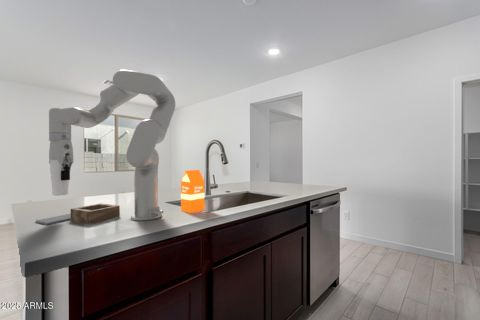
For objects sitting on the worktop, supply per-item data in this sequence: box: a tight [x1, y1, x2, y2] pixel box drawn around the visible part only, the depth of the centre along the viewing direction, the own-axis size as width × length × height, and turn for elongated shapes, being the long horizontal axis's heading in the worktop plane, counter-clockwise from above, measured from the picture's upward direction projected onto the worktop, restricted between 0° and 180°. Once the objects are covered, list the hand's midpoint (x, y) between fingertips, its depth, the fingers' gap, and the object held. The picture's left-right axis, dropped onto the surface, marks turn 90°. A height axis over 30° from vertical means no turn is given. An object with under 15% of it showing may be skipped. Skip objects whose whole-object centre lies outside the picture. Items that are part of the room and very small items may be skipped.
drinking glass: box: [49, 160, 70, 197], centre depth 99 cm, size 7×7×15 cm
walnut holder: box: [70, 203, 121, 225], centre depth 100 cm, size 13×13×5 cm
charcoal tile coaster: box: [35, 213, 71, 226], centre depth 99 cm, size 9×14×1 cm, turn 154°
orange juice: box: [180, 169, 205, 214], centre depth 115 cm, size 8×9×20 cm
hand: (60, 179), depth 99 cm, fingers closed on drinking glass, 6 cm apart
